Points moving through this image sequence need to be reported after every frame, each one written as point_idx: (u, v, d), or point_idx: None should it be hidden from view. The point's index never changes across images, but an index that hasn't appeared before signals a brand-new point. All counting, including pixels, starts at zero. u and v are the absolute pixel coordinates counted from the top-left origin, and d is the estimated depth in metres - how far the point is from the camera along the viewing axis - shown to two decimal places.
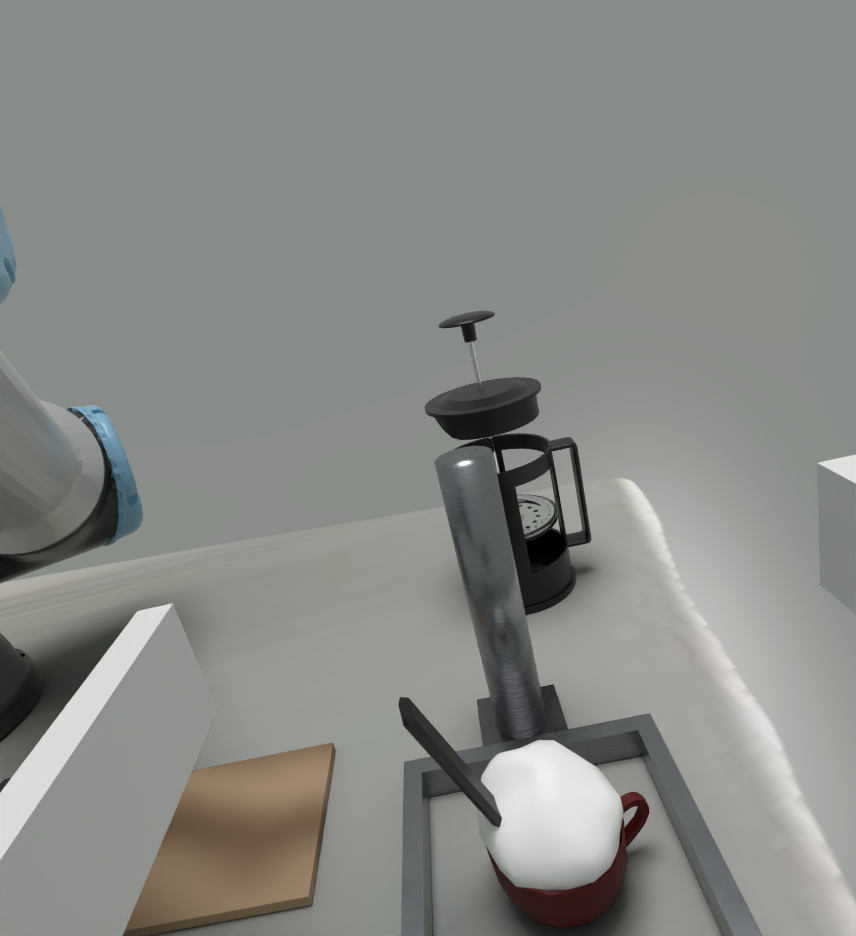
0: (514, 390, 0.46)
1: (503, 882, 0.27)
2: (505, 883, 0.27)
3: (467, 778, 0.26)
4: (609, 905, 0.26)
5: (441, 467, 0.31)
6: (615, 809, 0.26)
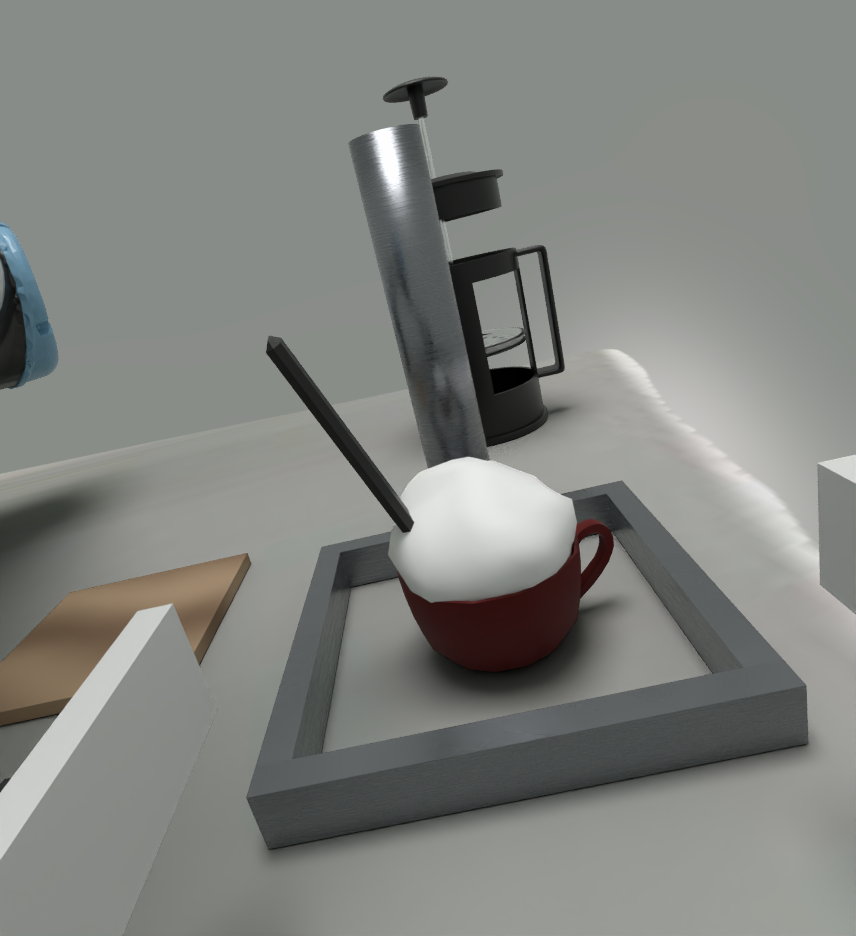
0: (471, 172, 0.40)
1: (417, 612, 0.20)
2: (419, 611, 0.20)
3: (363, 453, 0.19)
4: (557, 638, 0.20)
5: (354, 139, 0.25)
6: (564, 507, 0.20)
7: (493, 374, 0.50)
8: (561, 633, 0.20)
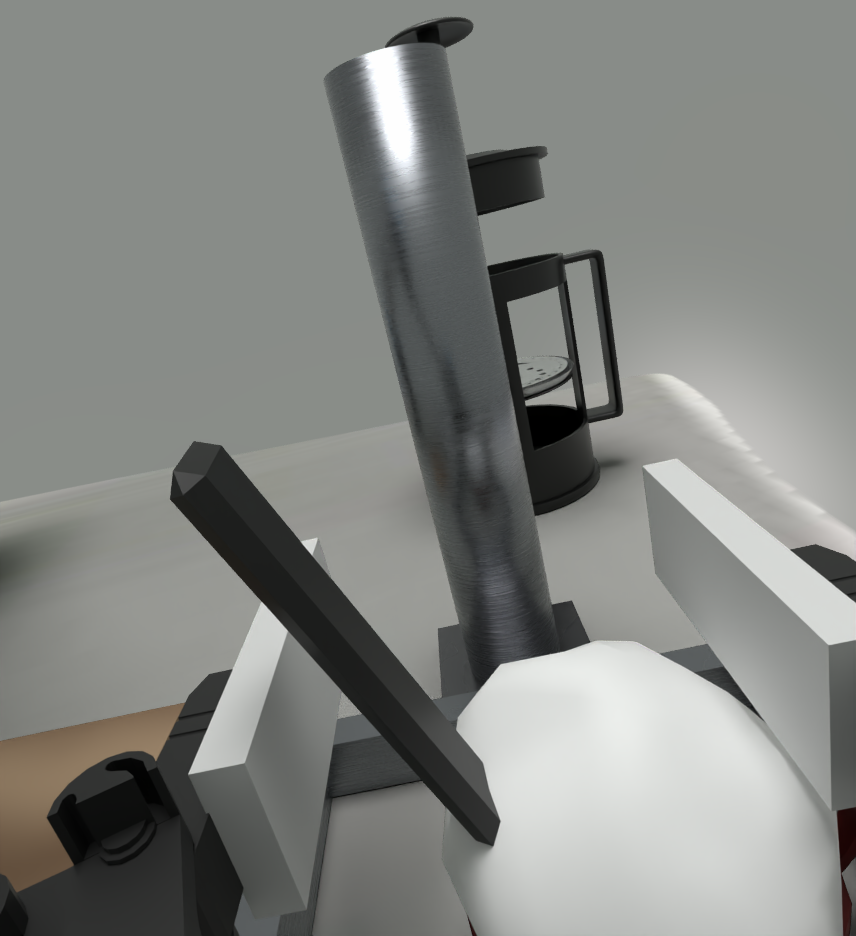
0: (505, 150, 0.29)
1: None
2: None
3: (397, 699, 0.09)
4: None
5: (332, 70, 0.14)
6: (828, 811, 0.09)
7: None
8: None
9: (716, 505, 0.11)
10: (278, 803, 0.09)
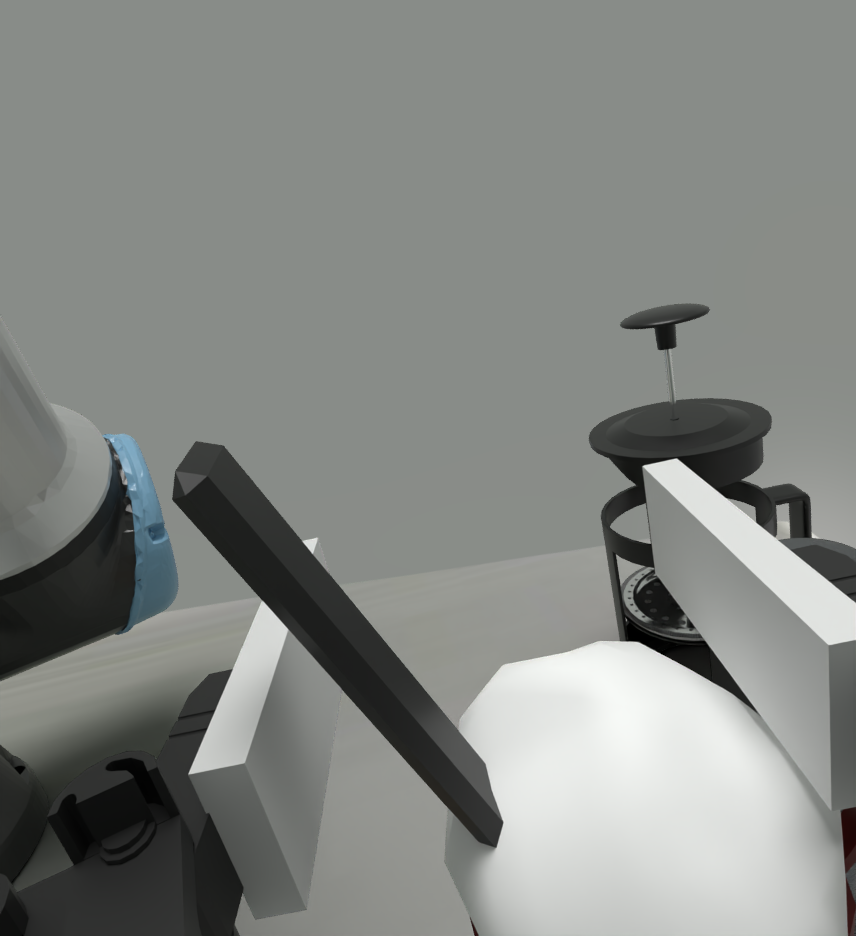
0: (734, 420, 0.31)
1: None
2: None
3: (400, 700, 0.09)
4: None
5: None
6: (832, 813, 0.09)
7: None
8: None
9: (716, 505, 0.11)
10: (278, 803, 0.09)
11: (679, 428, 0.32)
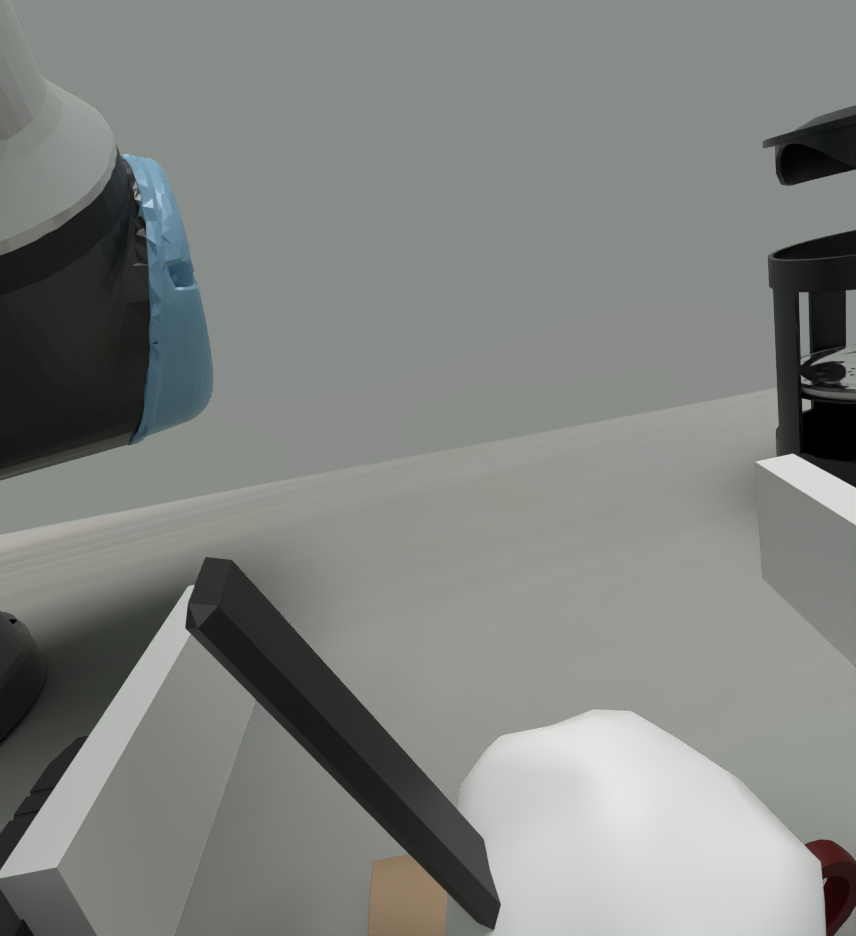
0: None
1: None
2: None
3: (401, 797, 0.09)
4: None
5: None
6: (814, 897, 0.10)
7: None
8: None
9: None
10: (112, 902, 0.08)
11: None
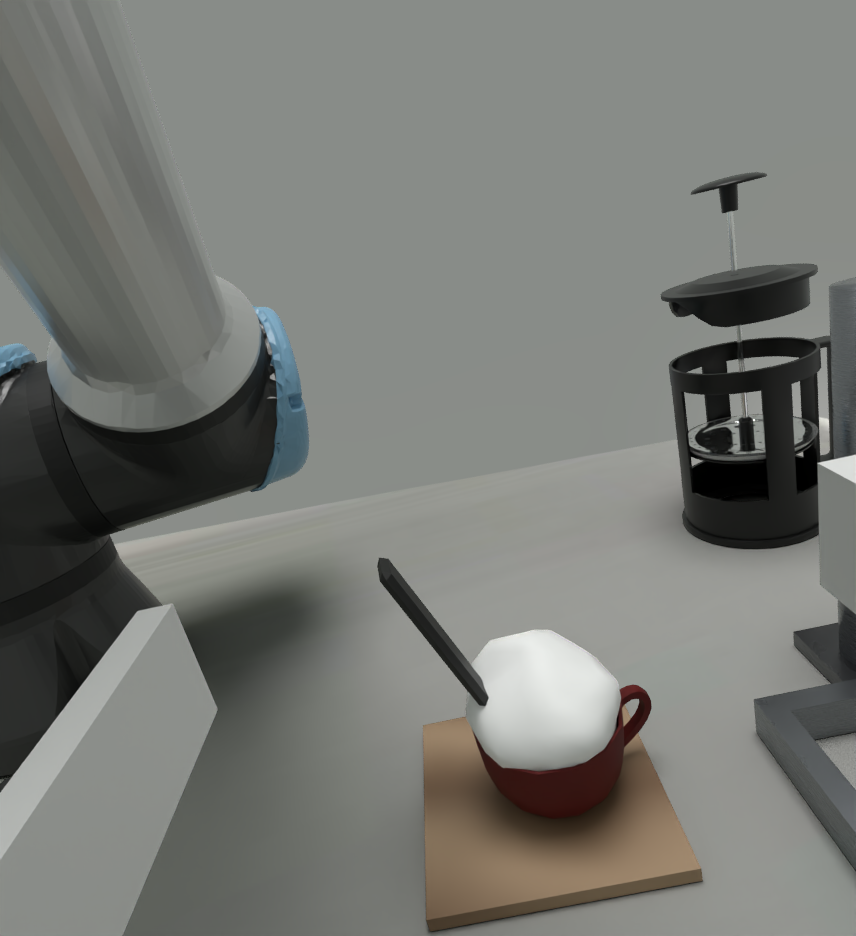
0: (786, 268, 0.38)
1: (489, 768, 0.25)
2: (491, 768, 0.25)
3: (450, 648, 0.24)
4: (603, 795, 0.25)
5: None
6: (611, 691, 0.24)
7: None
8: (607, 791, 0.25)
9: None
10: None
11: (741, 276, 0.38)
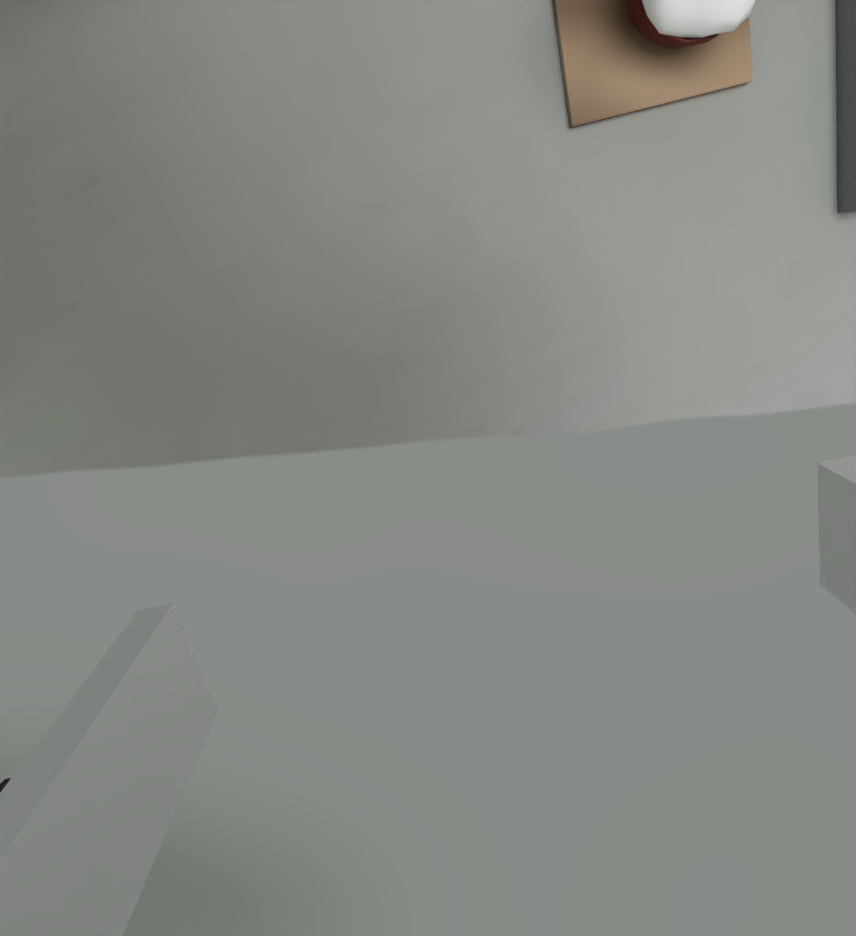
0: None
1: (641, 21, 0.31)
2: (644, 23, 0.31)
3: None
4: None
5: None
6: None
7: None
8: None
9: None
10: None
11: None
